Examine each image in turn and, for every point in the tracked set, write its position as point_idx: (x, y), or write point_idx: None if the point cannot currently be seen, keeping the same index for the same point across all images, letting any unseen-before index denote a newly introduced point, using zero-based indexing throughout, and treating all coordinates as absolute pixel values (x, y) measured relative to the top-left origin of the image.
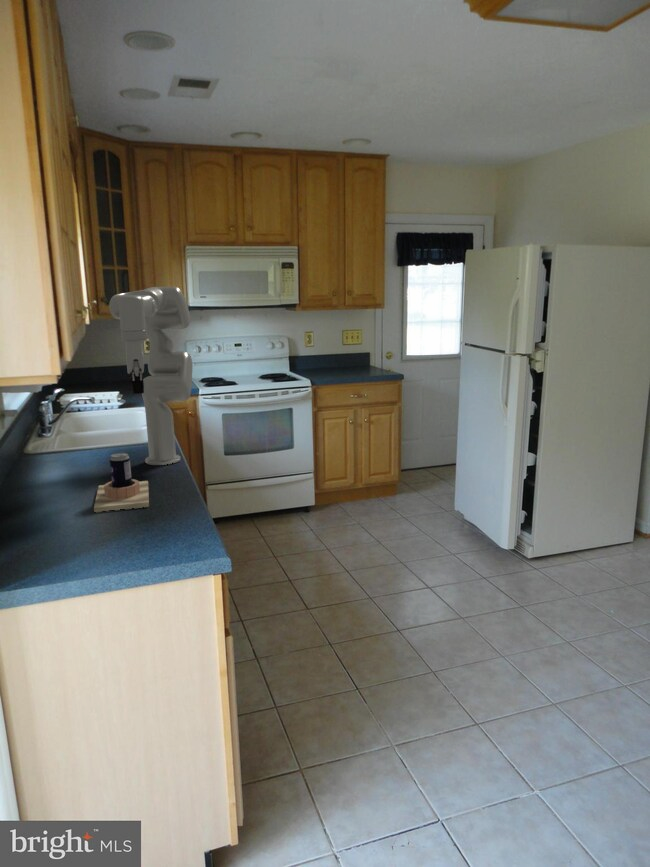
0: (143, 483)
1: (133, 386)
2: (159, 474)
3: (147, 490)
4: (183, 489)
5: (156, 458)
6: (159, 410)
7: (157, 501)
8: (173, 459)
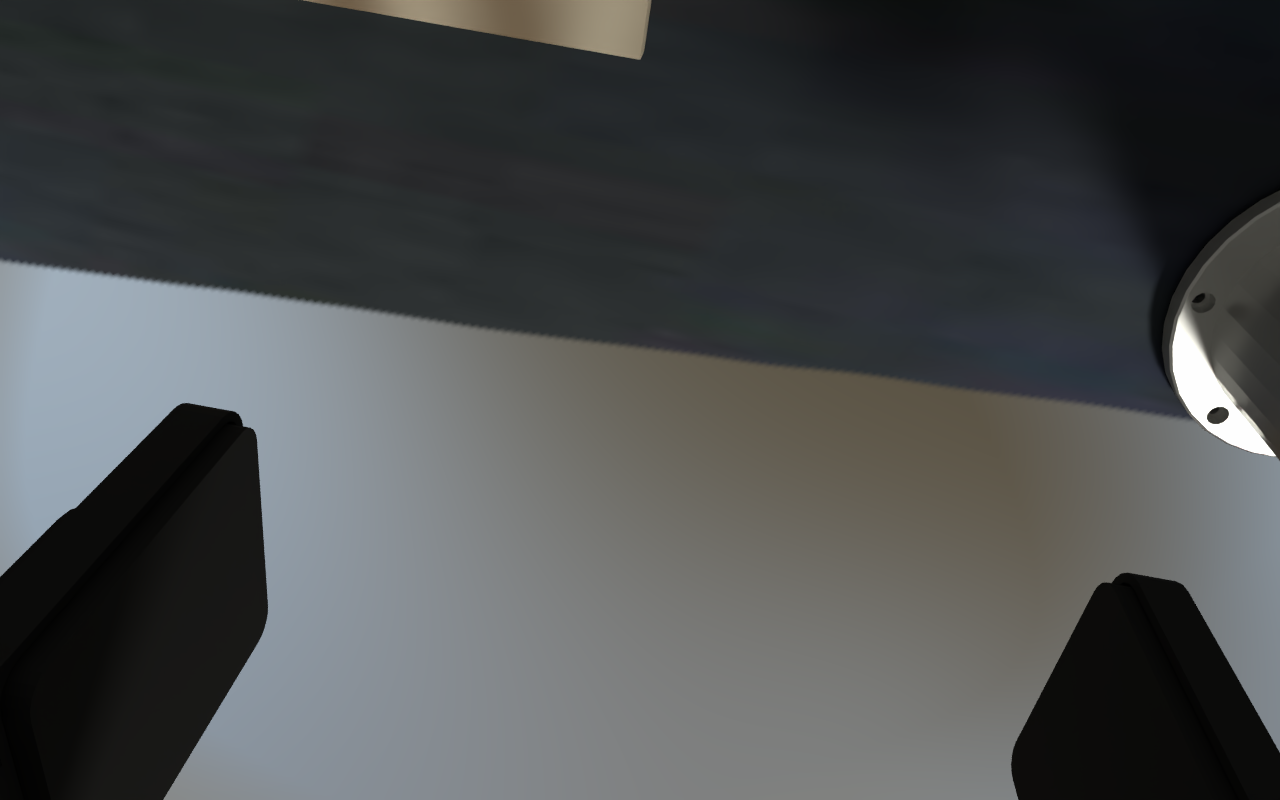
0: (573, 7)
1: (61, 545)
2: (917, 199)
3: (355, 3)
4: (421, 267)
5: (1275, 267)
6: None
7: (196, 38)
8: (1212, 390)
